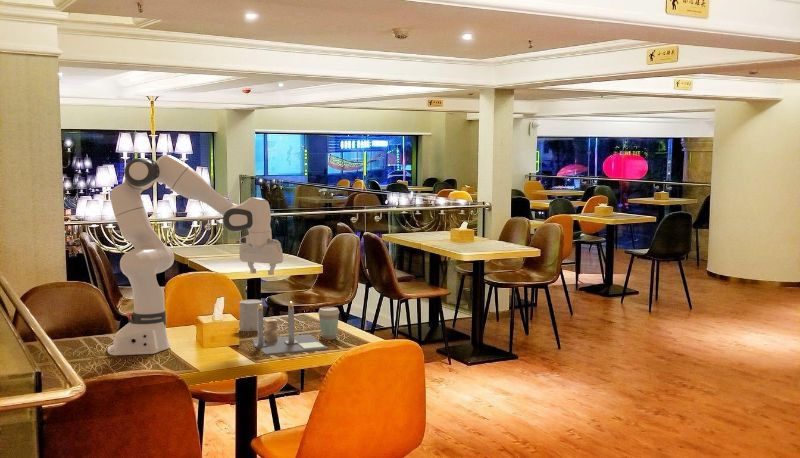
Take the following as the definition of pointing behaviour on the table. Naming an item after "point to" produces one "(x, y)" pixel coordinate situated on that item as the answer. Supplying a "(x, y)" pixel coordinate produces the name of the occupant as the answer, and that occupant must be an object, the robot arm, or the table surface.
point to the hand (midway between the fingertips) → (262, 274)
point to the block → (271, 330)
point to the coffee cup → (328, 322)
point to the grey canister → (249, 314)
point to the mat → (283, 348)
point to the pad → (311, 345)
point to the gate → (290, 326)
